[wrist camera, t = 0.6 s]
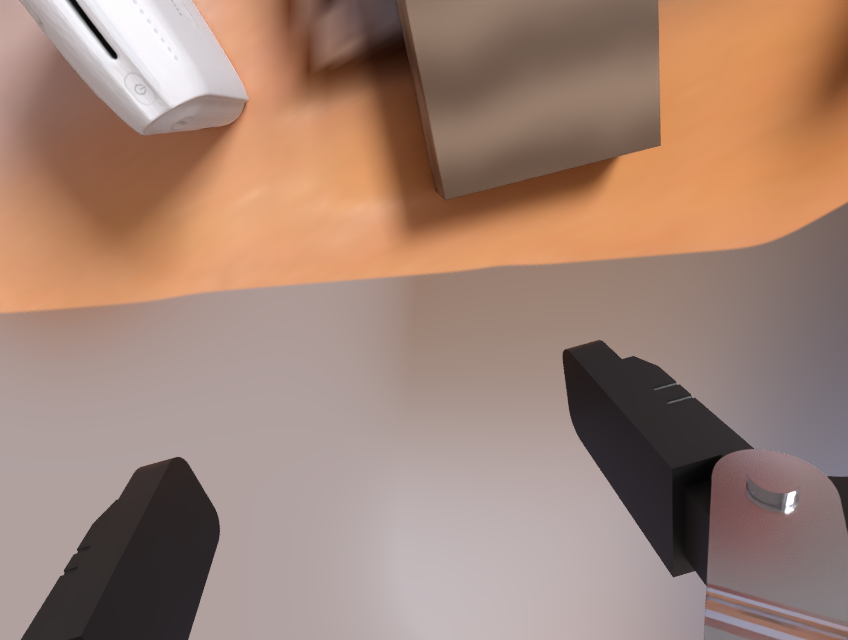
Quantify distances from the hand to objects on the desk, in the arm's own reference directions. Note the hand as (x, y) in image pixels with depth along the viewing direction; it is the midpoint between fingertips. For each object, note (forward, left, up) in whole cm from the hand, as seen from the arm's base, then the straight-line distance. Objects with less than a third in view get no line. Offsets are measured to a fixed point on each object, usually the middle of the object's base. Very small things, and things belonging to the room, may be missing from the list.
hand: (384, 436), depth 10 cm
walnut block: (-7, +12, -25) cm, 29 cm away
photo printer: (-12, -8, -26) cm, 30 cm away
